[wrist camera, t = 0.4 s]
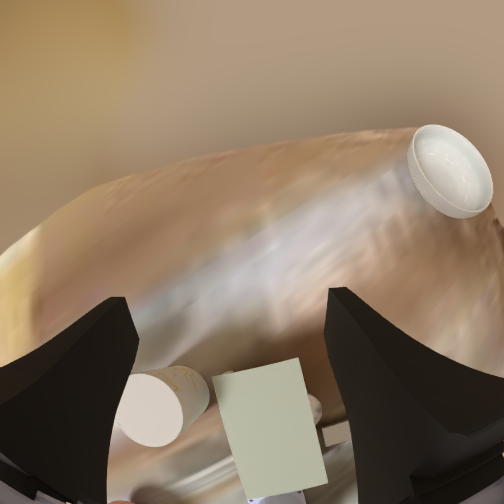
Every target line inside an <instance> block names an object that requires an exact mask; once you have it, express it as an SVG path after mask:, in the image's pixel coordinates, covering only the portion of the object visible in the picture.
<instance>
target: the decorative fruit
mask: <svg viewBox="0 0 504 504" xmlns="http://www.w3.org/2000/svg"><path fill="white" fill-rule="evenodd" d="M109 504H135V503H132V502H128V501H114V502H111V503H109Z"/></svg>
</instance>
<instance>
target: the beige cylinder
mask: <svg viewBox="0 0 504 504" xmlns="http://www.w3.org/2000/svg"><path fill="white" fill-rule="evenodd" d="M209 398H210V394H209V388H208V385H207V383H206V381H205V380H204V378H203V377H202V376H201V375H200V374H199V373H198V372H197V371H195V370H193V369H192V368H189V367H186V366H180V365H179V366H171V367H167V368H162V369H157V370H153V371H148V372H143V373H138V374H133V375H130V376H129V378H128V381H127V384H126V386H125V389H124V392H123V395H122V397H121V400H120V403H119V406H118V409H117V412H116V415H115V419H116V422H117V423H118V425H119V427H120V428H121V429H122V431H123V432H124V433H125V434H126V435H127V436H128V437H130V438H131V439H132V440H134V441H136V442H137V443H140V444H142V445H145V446H150V447H159V446H164V445H167V444H169V443H170V442H172V441H173V440H174V439H175V438H177V437H178V436H179V435H180V434H181V433H182V432H183V431H184V430H185V429H186V428H187V427H189V426H190V425H191V424H192V423H193V422H194V421H195V420H196V419H197V418H198V417H199V416H200V415H201V414H202V413H203V412H204V411H205V410H206V408H207V406H208V403H209Z"/></svg>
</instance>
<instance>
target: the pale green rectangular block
mask: <svg viewBox="0 0 504 504" xmlns="http://www.w3.org/2000/svg"><path fill="white" fill-rule="evenodd" d="M211 378H212V382H213V386H214V390H215V394H216V398H217V401H218V405H219V409H220V413H221V416H222V420H223V424H224V427H225V431H226V434H227V438H228V441H229V444H230V448H231V451H232V454H233V458H234V461H235V464H236V467H237V470H238V473H239V477H240V480H241V483H242V486H243V489H244V492H245V494H246V497H247V499H254V498H261V497H267V496H273V495H279V494H284V493H289V492H294V491H299V490H303V489H307V488H311V487H315V486H319V485H323V484H326V483H328V480H327V475H326V471H325V466H324V462H323V458H322V453H321V449H320V445H319V441H318V436H317V432H316V428H315V424H314V419H313V415H312V411H311V407H310V403H309V399H308V395H307V390H306V386H305V382H304V378H303V374H302V370H301V366H300V362H299V358H298V357H296V358H293V359H289V360H285V361H281V362H277V363H273V364H269V365H265V366H260V367H256V368H251V369H247V370H242V371H237V372H234V371H233V370H232V371H227V372H225V373H223V374H222V375H217V376H212V377H211Z"/></svg>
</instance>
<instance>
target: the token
mask: <svg viewBox="0 0 504 504" xmlns="http://www.w3.org/2000/svg"><path fill="white" fill-rule="evenodd" d="M307 395H308V399H309V403H310V407H311V411H312V415H313V419H314V424H315V425H316V424H317V423H318V421H319V420H320V418H321V415H322V407H321V404H320V402H319V401H318V399H317V398H316V397H315V396H314V395H313V394H311V393H309V392H307Z"/></svg>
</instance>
